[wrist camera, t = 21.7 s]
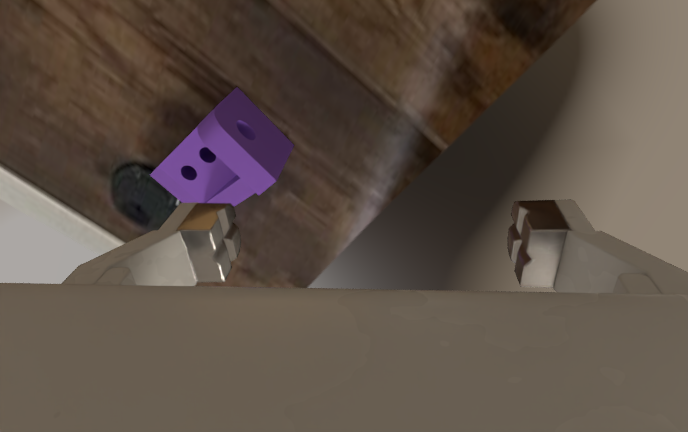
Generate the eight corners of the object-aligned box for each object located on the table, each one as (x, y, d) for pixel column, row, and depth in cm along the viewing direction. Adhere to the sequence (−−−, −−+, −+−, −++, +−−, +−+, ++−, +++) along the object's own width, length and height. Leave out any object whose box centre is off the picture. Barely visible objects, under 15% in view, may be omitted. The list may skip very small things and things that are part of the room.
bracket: (237, 86, 37) (207, 114, 31) (294, 145, 39) (276, 180, 33) (157, 167, 42) (119, 204, 36) (212, 215, 44) (184, 256, 38)
